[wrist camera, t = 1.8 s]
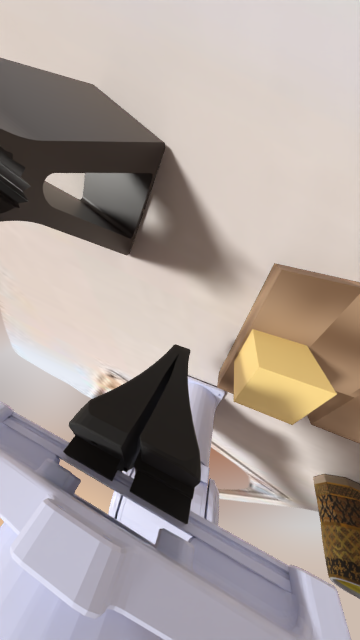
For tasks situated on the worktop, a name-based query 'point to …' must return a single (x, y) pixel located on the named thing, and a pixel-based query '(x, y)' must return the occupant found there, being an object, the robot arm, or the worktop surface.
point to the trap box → (312, 337)
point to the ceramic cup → (340, 529)
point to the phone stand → (72, 157)
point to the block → (279, 378)
